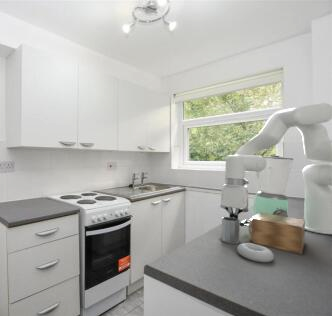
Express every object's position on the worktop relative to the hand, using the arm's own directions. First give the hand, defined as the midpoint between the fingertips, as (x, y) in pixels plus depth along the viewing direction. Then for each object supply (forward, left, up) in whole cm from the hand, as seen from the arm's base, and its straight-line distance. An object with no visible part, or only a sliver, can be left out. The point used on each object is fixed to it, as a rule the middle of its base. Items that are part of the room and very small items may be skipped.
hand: (233, 222), depth 99 cm
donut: (+23, +12, -5) cm, 26 cm away
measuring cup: (+13, +2, -4) cm, 14 cm away
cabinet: (0, +16, -4) cm, 16 cm away
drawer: (0, +12, -3) cm, 12 cm away
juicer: (-22, +9, -4) cm, 24 cm away
